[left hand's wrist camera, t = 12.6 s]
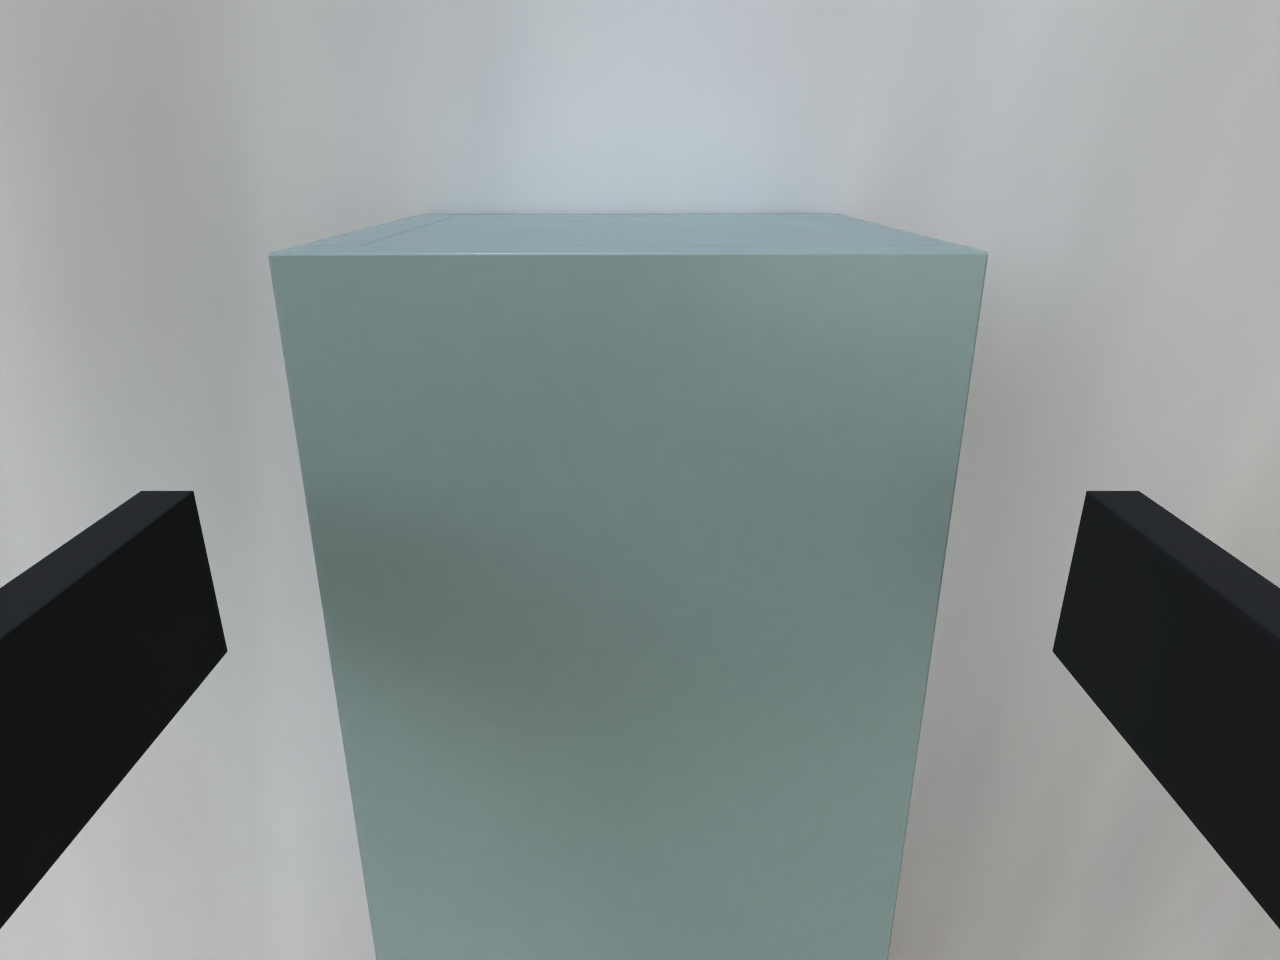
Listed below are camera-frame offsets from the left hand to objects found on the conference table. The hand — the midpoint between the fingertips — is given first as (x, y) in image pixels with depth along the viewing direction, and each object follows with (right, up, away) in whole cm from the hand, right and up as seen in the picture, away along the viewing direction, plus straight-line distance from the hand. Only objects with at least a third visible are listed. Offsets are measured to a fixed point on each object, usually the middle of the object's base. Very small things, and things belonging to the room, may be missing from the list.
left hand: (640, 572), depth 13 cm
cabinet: (0, -2, +13) cm, 13 cm away
